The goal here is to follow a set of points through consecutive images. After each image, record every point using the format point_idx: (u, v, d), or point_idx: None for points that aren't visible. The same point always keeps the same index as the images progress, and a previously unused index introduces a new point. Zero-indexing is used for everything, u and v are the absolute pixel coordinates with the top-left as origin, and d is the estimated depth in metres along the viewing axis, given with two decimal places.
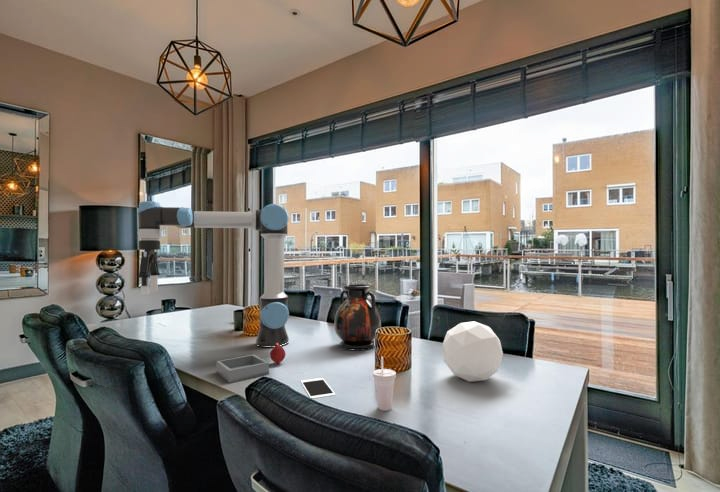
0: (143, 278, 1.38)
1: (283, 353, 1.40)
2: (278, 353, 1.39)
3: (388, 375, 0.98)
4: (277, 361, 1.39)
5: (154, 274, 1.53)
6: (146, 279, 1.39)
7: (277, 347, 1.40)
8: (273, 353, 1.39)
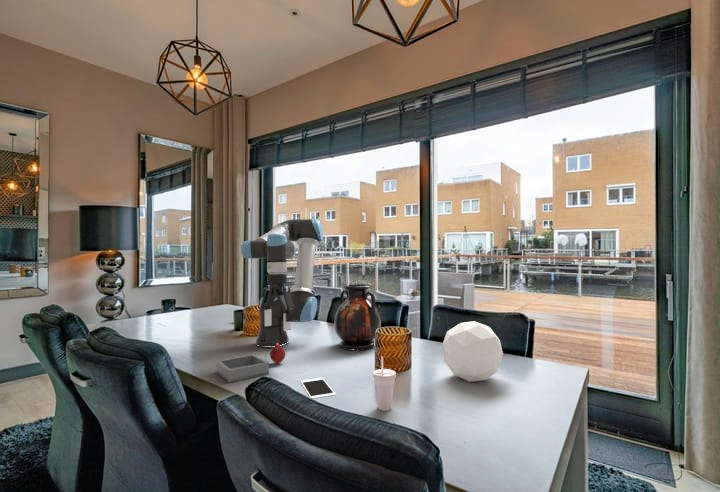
0: (289, 314, 1.35)
1: (283, 353, 1.40)
2: (278, 353, 1.39)
3: (388, 375, 0.98)
4: (277, 361, 1.39)
5: (267, 308, 1.47)
6: None
7: (277, 347, 1.40)
8: (273, 353, 1.39)
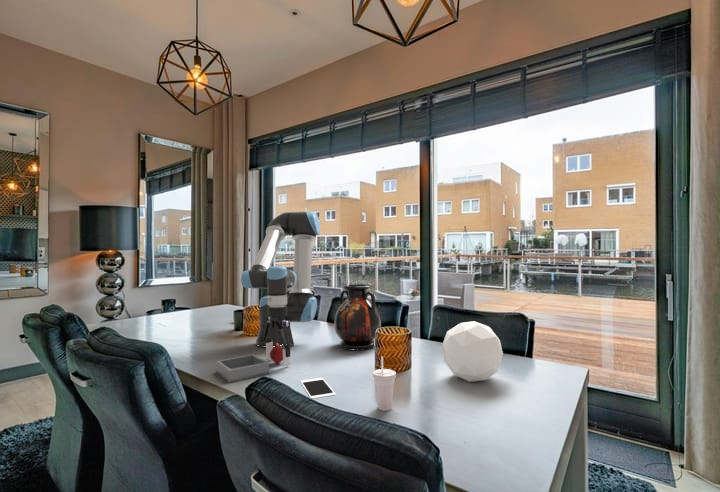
0: (288, 349, 1.36)
1: None
2: (278, 353, 1.39)
3: (388, 375, 0.98)
4: (277, 361, 1.39)
5: (269, 341, 1.46)
6: None
7: (277, 347, 1.40)
8: (273, 353, 1.39)
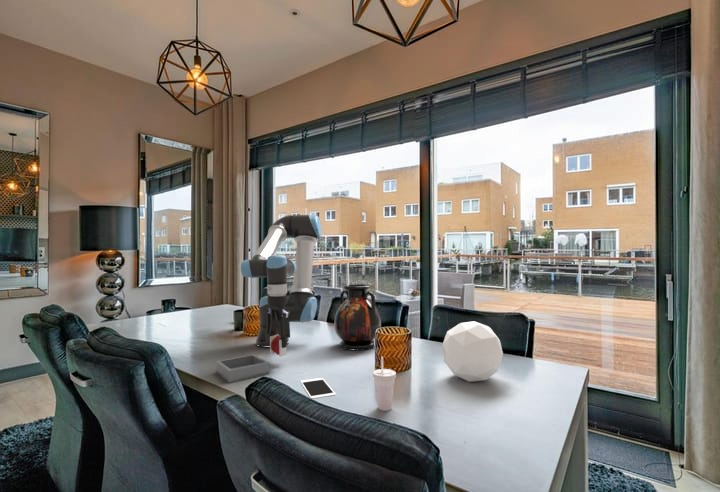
0: (284, 340, 1.38)
1: None
2: (278, 343, 1.39)
3: (388, 375, 0.98)
4: (278, 352, 1.40)
5: (273, 334, 1.45)
6: None
7: (277, 338, 1.41)
8: (274, 344, 1.39)
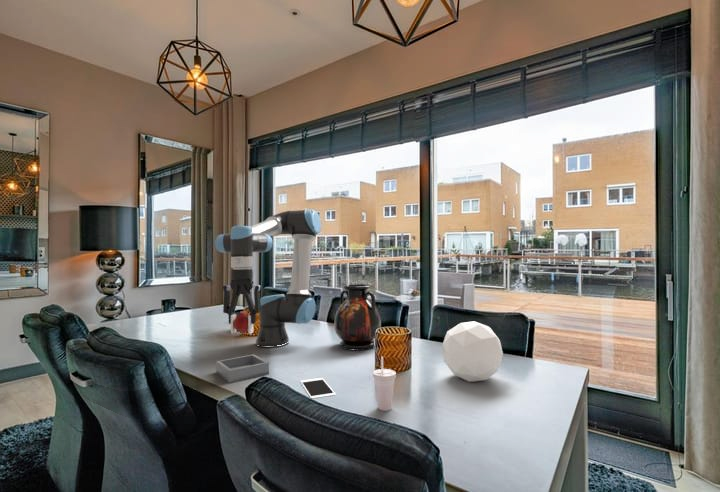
0: (254, 315, 1.30)
1: None
2: (247, 320, 1.30)
3: (388, 375, 0.98)
4: (245, 329, 1.30)
5: (232, 313, 1.32)
6: None
7: (244, 315, 1.30)
8: (241, 321, 1.29)
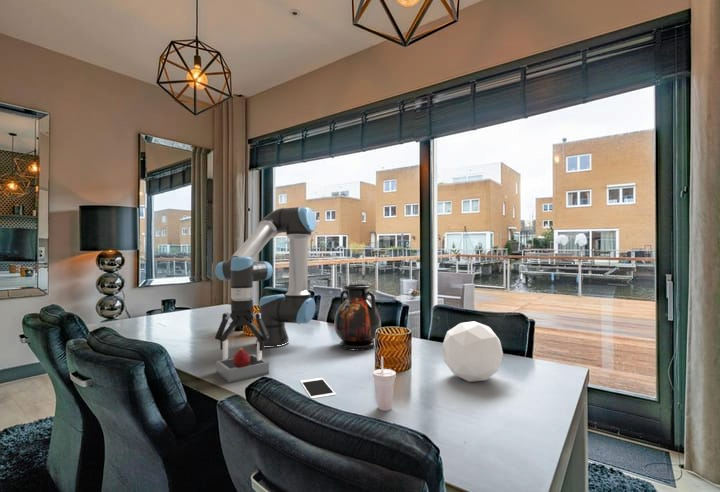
0: (263, 342, 1.30)
1: (249, 357, 1.32)
2: (246, 357, 1.30)
3: (388, 375, 0.98)
4: None
5: (224, 339, 1.32)
6: None
7: (243, 352, 1.31)
8: (241, 358, 1.29)
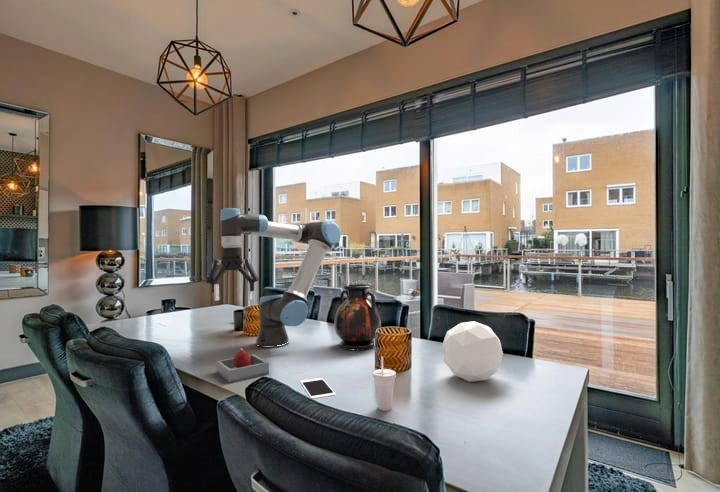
0: (253, 284, 1.44)
1: (249, 358, 1.32)
2: (246, 358, 1.30)
3: (388, 375, 0.98)
4: None
5: (215, 283, 1.46)
6: None
7: (243, 352, 1.30)
8: (241, 359, 1.28)
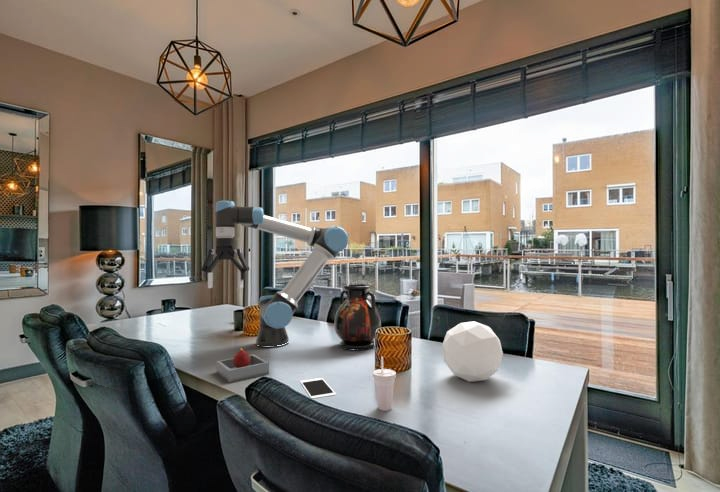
0: (244, 273, 1.52)
1: (249, 358, 1.32)
2: (246, 358, 1.30)
3: (388, 375, 0.98)
4: None
5: (209, 271, 1.54)
6: None
7: (243, 352, 1.30)
8: (241, 359, 1.28)
